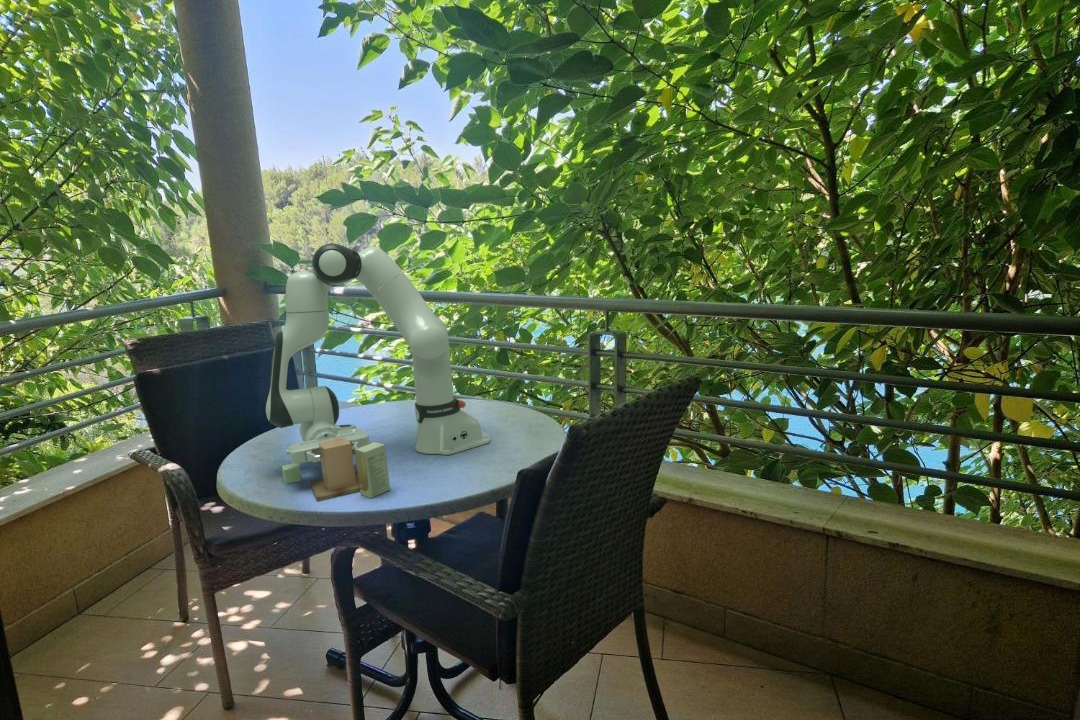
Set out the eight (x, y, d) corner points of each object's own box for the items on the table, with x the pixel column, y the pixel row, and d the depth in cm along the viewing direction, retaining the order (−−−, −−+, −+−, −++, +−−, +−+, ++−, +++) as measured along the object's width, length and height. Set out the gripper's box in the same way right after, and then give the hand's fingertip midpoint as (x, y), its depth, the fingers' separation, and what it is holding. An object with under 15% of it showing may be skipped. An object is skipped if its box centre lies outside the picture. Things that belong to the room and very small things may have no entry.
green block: (299, 476, 170) (297, 462, 170) (301, 480, 167) (299, 466, 166) (283, 480, 168) (281, 466, 168) (286, 484, 165) (284, 470, 164)
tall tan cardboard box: (349, 476, 165) (344, 437, 163) (356, 484, 160) (351, 443, 157) (323, 482, 162) (318, 442, 160) (329, 490, 156) (324, 449, 154)
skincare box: (380, 486, 160) (375, 441, 158) (391, 490, 157) (386, 444, 155) (359, 495, 155) (353, 448, 153) (369, 499, 152) (364, 451, 150)
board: (360, 474, 169) (359, 470, 169) (370, 489, 159) (370, 485, 158) (310, 485, 163) (309, 481, 163) (317, 501, 153) (316, 497, 152)
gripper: (282, 438, 164) (291, 452, 153) (360, 422, 174) (374, 435, 163) (285, 461, 165) (295, 476, 154) (362, 444, 176) (376, 457, 164)
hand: (336, 455), depth 158 cm, fingers open, 8 cm apart
